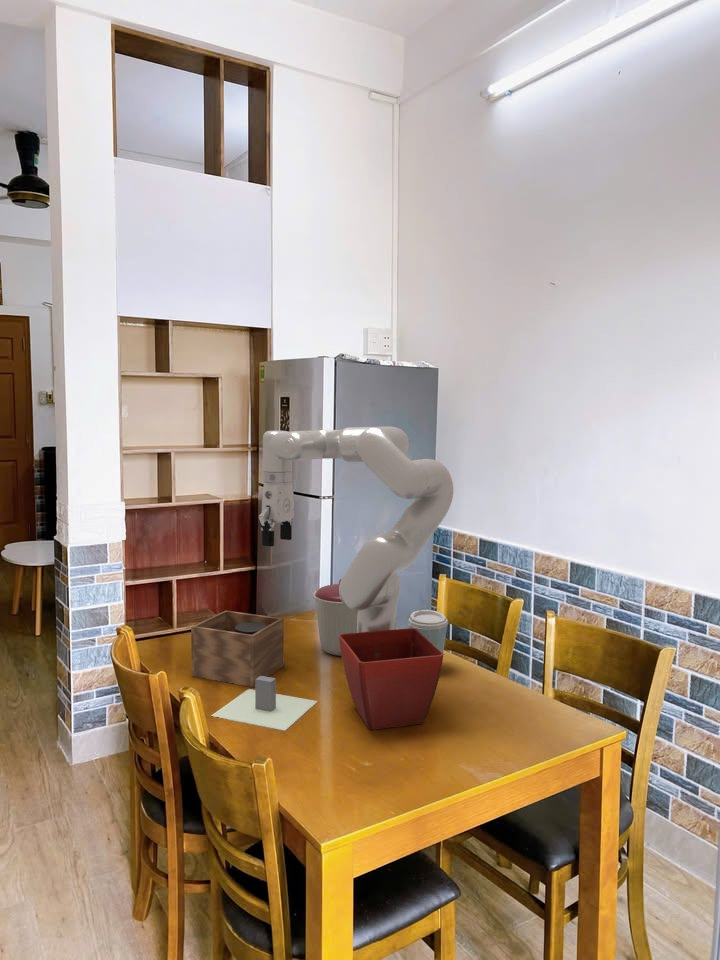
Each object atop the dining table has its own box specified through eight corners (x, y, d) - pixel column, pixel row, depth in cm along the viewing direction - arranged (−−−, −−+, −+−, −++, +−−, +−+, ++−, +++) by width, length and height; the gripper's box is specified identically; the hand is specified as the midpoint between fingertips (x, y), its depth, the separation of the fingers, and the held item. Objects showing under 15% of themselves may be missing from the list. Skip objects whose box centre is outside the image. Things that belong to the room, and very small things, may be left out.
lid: (317, 704, 170) (317, 672, 169) (285, 733, 155) (285, 698, 154) (248, 692, 177) (248, 661, 176) (210, 719, 162) (210, 685, 161)
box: (283, 665, 193) (283, 618, 192) (253, 687, 178) (253, 636, 177) (225, 656, 200) (225, 610, 198) (191, 676, 185) (191, 626, 184)
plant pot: (358, 739, 152) (359, 661, 150) (336, 703, 170) (337, 633, 168) (443, 729, 157) (445, 654, 155) (413, 695, 175) (415, 627, 173)
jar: (245, 680, 183) (245, 634, 182) (227, 671, 189) (227, 626, 187) (273, 671, 189) (274, 627, 188) (255, 663, 195) (255, 619, 194)
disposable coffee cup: (455, 673, 189) (456, 617, 188) (419, 679, 185) (420, 622, 183) (433, 660, 199) (435, 607, 197) (399, 666, 194) (400, 611, 193)
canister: (379, 642, 214) (380, 572, 211) (371, 663, 196) (372, 587, 194) (319, 638, 216) (320, 569, 214) (306, 659, 198) (306, 584, 196)
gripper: (274, 482, 179) (274, 549, 181) (304, 475, 195) (304, 538, 197) (247, 480, 182) (247, 547, 184) (280, 474, 198) (280, 536, 200)
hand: (277, 542), depth 190 cm, fingers open, 9 cm apart
